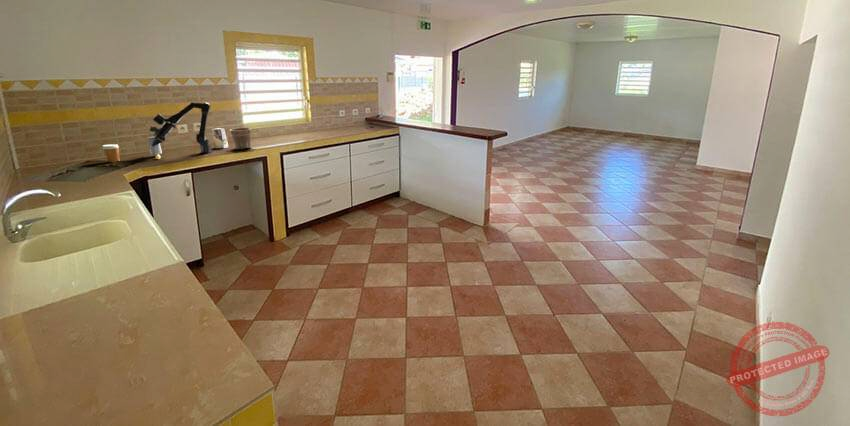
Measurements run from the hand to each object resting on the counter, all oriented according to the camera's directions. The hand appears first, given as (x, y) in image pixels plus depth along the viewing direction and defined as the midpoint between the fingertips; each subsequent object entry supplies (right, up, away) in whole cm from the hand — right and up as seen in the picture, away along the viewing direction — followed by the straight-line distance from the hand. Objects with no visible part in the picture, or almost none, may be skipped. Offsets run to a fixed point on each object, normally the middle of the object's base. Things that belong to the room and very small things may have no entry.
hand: (152, 145), depth 306 cm
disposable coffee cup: (-18, -14, -14) cm, 27 cm away
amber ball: (+9, -11, -6) cm, 16 cm away
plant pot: (+53, +3, +36) cm, 64 cm away
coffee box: (+33, +4, +39) cm, 51 cm away
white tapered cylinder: (+1, -6, +3) cm, 7 cm away
